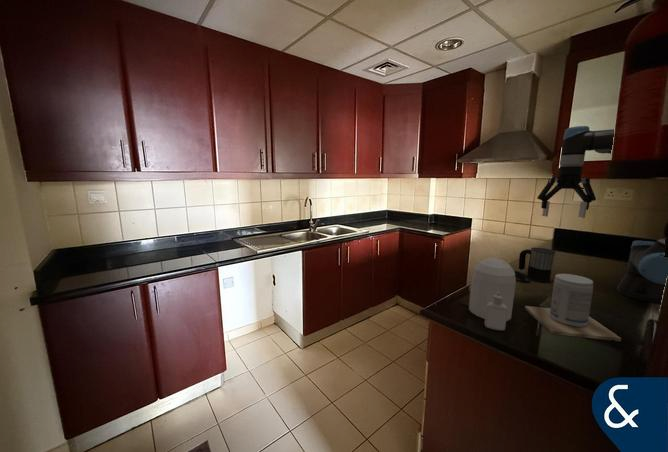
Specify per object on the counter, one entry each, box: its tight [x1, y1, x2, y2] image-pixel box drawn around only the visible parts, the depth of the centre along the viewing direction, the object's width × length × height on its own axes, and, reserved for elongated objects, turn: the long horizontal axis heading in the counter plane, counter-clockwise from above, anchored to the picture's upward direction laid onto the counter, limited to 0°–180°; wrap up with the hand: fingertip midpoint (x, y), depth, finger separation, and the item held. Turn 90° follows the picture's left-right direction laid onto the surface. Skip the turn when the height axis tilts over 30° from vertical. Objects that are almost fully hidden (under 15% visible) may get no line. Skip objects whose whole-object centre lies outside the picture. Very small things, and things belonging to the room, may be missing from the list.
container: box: [468, 257, 517, 322], centre depth 94 cm, size 14×13×20 cm
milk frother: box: [514, 246, 556, 284], centre depth 127 cm, size 14×16×15 cm
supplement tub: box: [550, 273, 594, 327], centre depth 88 cm, size 10×10×15 cm
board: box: [524, 305, 622, 342], centre depth 89 cm, size 18×17×1 cm
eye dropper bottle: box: [484, 292, 507, 331], centre depth 85 cm, size 4×6×12 cm
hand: (562, 216), depth 114 cm, fingers open, 13 cm apart
